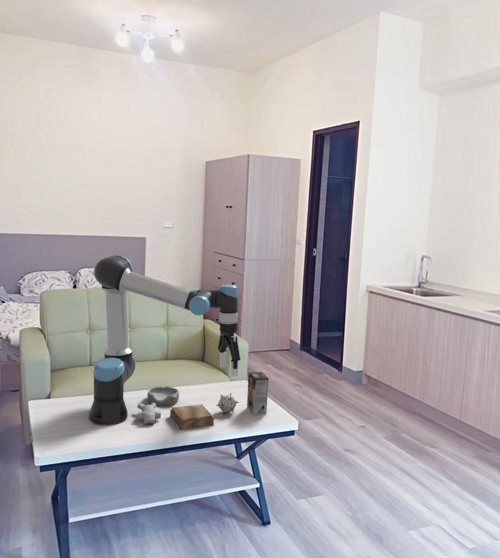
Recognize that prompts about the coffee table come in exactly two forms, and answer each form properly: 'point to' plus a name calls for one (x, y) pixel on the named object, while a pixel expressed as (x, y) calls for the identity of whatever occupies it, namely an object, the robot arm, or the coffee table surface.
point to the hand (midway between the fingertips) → (228, 371)
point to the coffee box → (257, 393)
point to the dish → (163, 395)
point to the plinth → (191, 416)
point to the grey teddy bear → (148, 413)
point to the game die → (227, 403)
